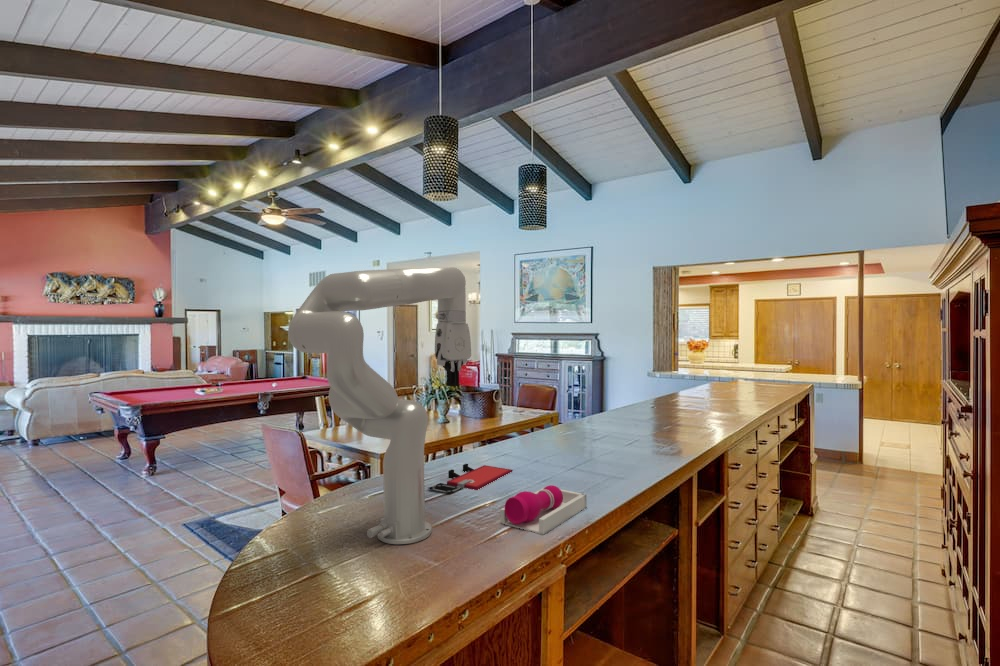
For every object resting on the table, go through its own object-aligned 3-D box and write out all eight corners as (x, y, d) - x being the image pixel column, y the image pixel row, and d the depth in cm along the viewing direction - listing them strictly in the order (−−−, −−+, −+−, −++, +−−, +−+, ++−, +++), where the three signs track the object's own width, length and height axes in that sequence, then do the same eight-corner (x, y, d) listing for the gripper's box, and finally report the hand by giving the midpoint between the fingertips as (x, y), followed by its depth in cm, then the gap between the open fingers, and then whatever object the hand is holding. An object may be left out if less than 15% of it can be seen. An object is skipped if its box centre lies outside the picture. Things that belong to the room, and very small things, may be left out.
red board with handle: (422, 490, 150) (463, 499, 143) (422, 481, 150) (463, 489, 143) (475, 467, 176) (512, 473, 169) (475, 459, 176) (512, 465, 169)
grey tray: (543, 534, 115) (543, 519, 115) (500, 523, 123) (500, 509, 123) (586, 507, 133) (586, 494, 133) (546, 498, 140) (546, 486, 140)
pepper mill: (511, 531, 120) (557, 512, 135) (530, 518, 116) (576, 500, 131) (498, 502, 123) (545, 487, 138) (517, 490, 119) (563, 475, 134)
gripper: (441, 317, 127) (442, 389, 126) (480, 318, 138) (481, 384, 138) (421, 318, 131) (422, 387, 131) (461, 319, 143) (461, 383, 143)
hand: (452, 385), depth 135 cm, fingers closed
